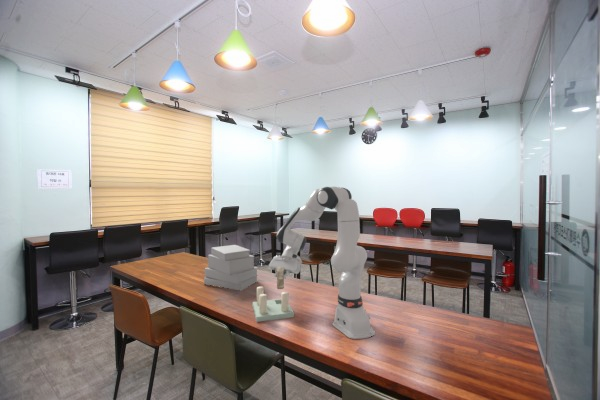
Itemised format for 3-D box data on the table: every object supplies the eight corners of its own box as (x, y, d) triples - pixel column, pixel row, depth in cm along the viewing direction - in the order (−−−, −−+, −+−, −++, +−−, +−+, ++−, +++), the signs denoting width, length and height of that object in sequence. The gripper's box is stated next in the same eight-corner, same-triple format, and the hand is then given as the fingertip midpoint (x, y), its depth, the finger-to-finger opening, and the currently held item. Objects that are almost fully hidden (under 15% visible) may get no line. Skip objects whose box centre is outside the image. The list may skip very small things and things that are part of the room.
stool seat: (293, 317, 143) (293, 295, 143) (256, 321, 137) (256, 299, 137) (285, 302, 162) (285, 282, 162) (252, 306, 157) (252, 286, 156)
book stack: (238, 293, 177) (238, 255, 176) (198, 286, 190) (198, 250, 190) (262, 280, 204) (262, 246, 204) (225, 274, 218) (225, 243, 217)
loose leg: (285, 288, 157) (285, 268, 156) (279, 289, 154) (279, 269, 154) (281, 286, 160) (281, 266, 160) (275, 287, 157) (275, 267, 157)
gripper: (272, 252, 168) (263, 271, 159) (301, 256, 158) (292, 277, 149) (276, 258, 172) (267, 277, 163) (304, 262, 162) (296, 282, 153)
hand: (279, 277), depth 156 cm, fingers closed on loose leg, 4 cm apart
